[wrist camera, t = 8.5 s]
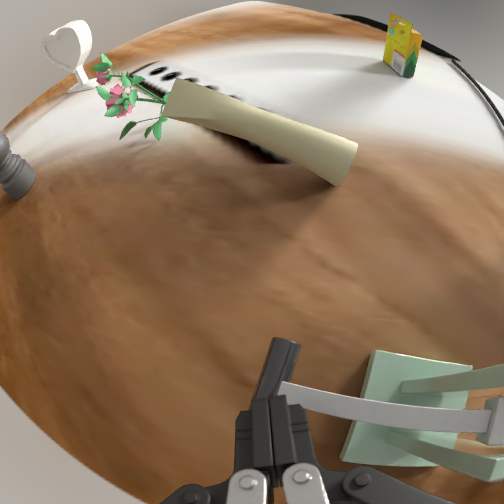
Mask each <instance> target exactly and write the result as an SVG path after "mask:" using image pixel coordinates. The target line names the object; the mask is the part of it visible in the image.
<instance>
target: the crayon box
mask: <svg viewBox="0 0 504 504" xmlns="http://www.w3.org/2000/svg"><path fill="white" fill-rule="evenodd" d="M396 19H399V20H402V21H403V22H404V23H405V25H404V24H402V23H401V22H397V21H396ZM412 26H413V24H412V23H410V22H408V21H407V20H405V19H403V18H401V17H399V16H397V15H395V14H393V13H391V14H390V18H389V24H388V32H387V39H386V45H385V52H384V57H383V61H384V62H386V63H387V64H388V65H389V66H391V67H392V68H393V69H394V70H395V71H396V72H397V73H399V74H400V76H401V77H411V78H412V77H413V75H414V72H415V68H416V63H417V59H418V55H419V50H420V46H421V41H422V35H421V34H419V33H418V32H416V31H414V30H413V29H412Z"/></svg>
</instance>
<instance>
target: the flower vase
mask: <svg viewBox="0 0 504 504" xmlns="http://www.w3.org/2000/svg"><path fill="white" fill-rule="evenodd" d="M101 60H102V62H103V63H99V64H97V65H95V66H93V67H92V68H93V69H94V70H96V71H97V76H96V78H97V80H96V82H98V83H99V84H101V85H105V83H107V84H109V83H110V80H111V78H112V76H114V77H122V83H123V84H122V87H120V86H119V84H117V85H116V86H115V87H114V88H111V89H110V93H109V92H107V91H106V90H104V89H103V88H101V87H98V86H96V88H97V91H98V93H99V95H100V96H101V97H102V98H103V99H104V100H106V106H107V107H108V108H107V110H108V111H107V112H106V114H105V116H108V117H113V116H117V118H119V117H121V116H125V117H126V113H127V111H128V113H129V114H130V113H131V111H132V108H133V107H135V101H136V100H138V101H148V102H155V103H161V104H163V105H165V104H166V105H165V107H164V110H163V112H162V107H161V112H160V114H161V113H162V115H161V117H158V118H159V120H158V121H157V122H156V123H155V124H153V126H151V127H148V128H147V129H146V132H145V134H144V135H145V138H146V137H147V136H148V134H149V133H150V131H151V129H153V133H154V136H155V137H156V138H157V139H158V140H159V141H160V137H161V122H164V121H166V120H167V118H171V119H175V120H179V121H183V122H187V123H191V124H195V125H199V126H202V127H206V128H210V129H213V130H217V131H220V132H223V133H227V134H230V135H233V136H237V137H240V138H243V139H246V140H248V141H251V142H253V143H255V144H257V145H259V146H262V147H264V148H266V149H268V150H270V151H272V152H274V153H276V154H279V155H281V156H283V157H285V158H287V159H289V160H291V161H293V162H295V163H297V164H299V165H300V166H302V167H304V168H306V169H308V170H310V171H311V172H313V173H315V174H316V175H318V176H320V177H321V178H323V179H325V180H326V181H328V182H330V183H331V184H333V185H334V186H336V187H339V186H340V185H341V184H342V182H343V181H344V179H345V177H346V175H347V173H348V171H349V169H350V167H351V165H352V162H353V160H354V158H355V155H356V152H357V148H358V144H357V143H355V142H352V141H350V140H347V139H345V138H342V137H340V136H337V135H334V134H331V133H329V132H326V131H323V130H320V129H317V128H314V127H311V126H308V125H305V124H302V123H299V122H296V121H293V120H290V119H288V118H285V117H282V116H279V115H276V114H273V113H270V112H267V111H264V110H261V109H258V108H256V107H254V106H251V105H249V104H247V103H244V102H242V101H240V100H237V99H235V98H232V97H230V96H227V95H225V94H222V93H220V92H217V91H214V90H212V89H209V88H206V87H203V86H201V85H198V84H195V83H192V82H189V81H186V80H183V79H180V78H176V80H175V83H174V85H173V87H172V90H171V92H169V93H167V94H166V95H165V96H164V97H163V99H164V100H162V99H161V98H159V97H158V96H156V95H154V94H153V93H151V92H150V91H148V90H146V89H145V88H143V87H142V86H140V85H139V84H138V83H139V82H141V81H143V80H144V78H142V77H141V76H134V77H133V79H132V78H131V77H130V76H129V75H128V70H127V74H126V75H124V74H123V73H122V76H120V75H115V74H114V73H112V70H111V69H110V67H109V66H111V65H112V62H110V61H109V60H108V59H107V57H106V56H104V55H103V54H102V53H101ZM112 66H113V65H112ZM113 67H114V66H113ZM114 68H115V67H114ZM114 68H112V69H114ZM115 70H117V69H116V68H115ZM98 71H99V72H98ZM117 72H118V71H117ZM118 74H119V73H118ZM128 76H129V77H130V78H131V79H130V78H128ZM107 80H108V81H107ZM129 80H130V81H132V84H131V85H133V84H136V85H137V86H139V87H140V88H142V89H143V90H145V91H146V92H148V93H149V94H151V95H152V96H154V97H156V98H157V99H159V100H161V101H159V100H155V99H154V98H153V97H152V96H150V95H149V96H150V97H152V98H153V99H154V100H152V99H143V98H138V95H137V90H135V89H134V90H131V85H130V81H129ZM138 91H139V90H138ZM140 92H142V91H140ZM142 93H144V92H142ZM144 94H146V93H144ZM147 95H148V94H147ZM128 101H129V102H128ZM163 105H162V106H163ZM154 119H157V118H154ZM148 120H152V119H148ZM143 121H146V120H143ZM140 122H142V121H140ZM136 123H139V122H133V121H130V122H129V123H128V124H127V125H126V126H125V128H124V129H123V131H122V133H121V136H120V139H121V138H122V137H124V136H125V135H126V134H127V133H128V132H129V131H130V130H131V128H133V127H134V126H135V125H136ZM120 139H119V140H120Z"/></svg>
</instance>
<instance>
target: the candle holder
mask: <svg viewBox="0 0 504 504" xmlns="http://www.w3.org/2000/svg"><path fill="white" fill-rule="evenodd" d="M9 148H10V145H9V140H8V138H7V137H6V135H5V134H4V133H2V132H1V131H0V184H2V188H3V190H4V191H5V192H6V193H7V194H8V195H9V196H10V197H11V198H12V199H13V200H18V199H20V198H22V197H23V196H24V195H25V194H26V193H27V192H28V190H29V189H30V188H31V186H32V185H33V183H34V181H35V178H36V172H35V171H34V170H33V169H32V168H31V166H30V165H29V164H28V163H27V162H26V160H25V159H22V160H21V157H20V155H18V154H17V155H16V154H11V150H9Z"/></svg>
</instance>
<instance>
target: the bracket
mask: <svg viewBox="0 0 504 504" xmlns="http://www.w3.org/2000/svg"><path fill="white" fill-rule="evenodd" d="M472 369H473V366H469V365H462V364H455V363H448V362H441V361H435V360H429V359H423V358H418V357H412V356H407V355H401V354H396V353H391V352H386V351H381V350H374V351H372V352H371V354H370V359H369V363H368V367H367V371H366V375H365V379H364V383H363V386H362V390H361V394H360V397H359V398H361V399H367V400H374V401H380V402H387V403H394V404H402V405H411V406H421V407H432V408H447V409H465V406H466V401H467V397H479V396H491V395H501V394H504V363H503V364H500V365H495V366H491V367H487V368H482V369H478V370H473V371H472ZM457 436H458V433H453V432H435V431H423V430H413V429H405V428H397V427H390V426H383V425H377V424H371V423H366V422H360V421H355V420H352V423H351V426H350V429H349V432H348V435H347V438H346V441H345V443H344V446H343V449H342V451H341V454H340V457H339V458H340V459H341V460H342V461H344V462H351V463H360V464H370V465H383V466H406V467H427V466H442V467H445V468H448V469H450V470H453V471H456V472H459V473H462V474H464V475H467V476H471V477H474V478H477V479H480V480H481V481H484V482H499V481H502V480H503V479H504V445H497V446H488V445H485V444H483V443H480V442H478V441H472V440H466V439H460V438H457Z"/></svg>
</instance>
